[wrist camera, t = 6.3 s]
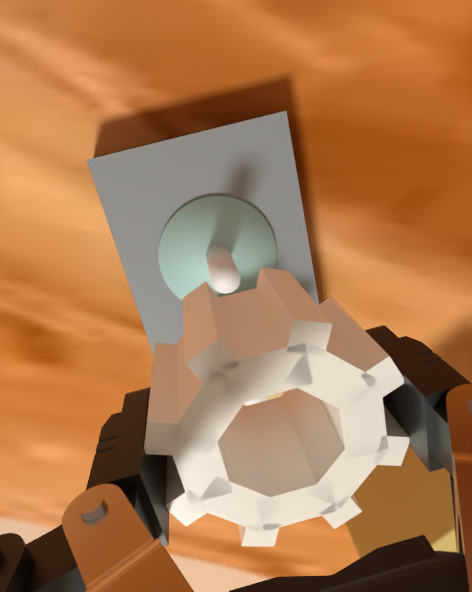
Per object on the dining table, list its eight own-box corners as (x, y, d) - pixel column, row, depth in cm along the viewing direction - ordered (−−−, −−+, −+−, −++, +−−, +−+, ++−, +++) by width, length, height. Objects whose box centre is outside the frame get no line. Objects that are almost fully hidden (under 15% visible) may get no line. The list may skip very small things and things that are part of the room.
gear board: (278, 112, 27) (310, 104, 20) (327, 387, 35) (361, 444, 28) (92, 158, 27) (65, 165, 20) (183, 426, 34) (184, 494, 28)
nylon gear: (334, 247, 13) (398, 291, 9) (359, 416, 15) (417, 505, 12) (129, 301, 13) (109, 368, 9) (185, 464, 15) (188, 570, 11)
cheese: (381, 537, 42) (440, 652, 32) (319, 476, 38) (364, 586, 29) (471, 475, 40) (558, 577, 31) (415, 406, 37) (495, 498, 27)
